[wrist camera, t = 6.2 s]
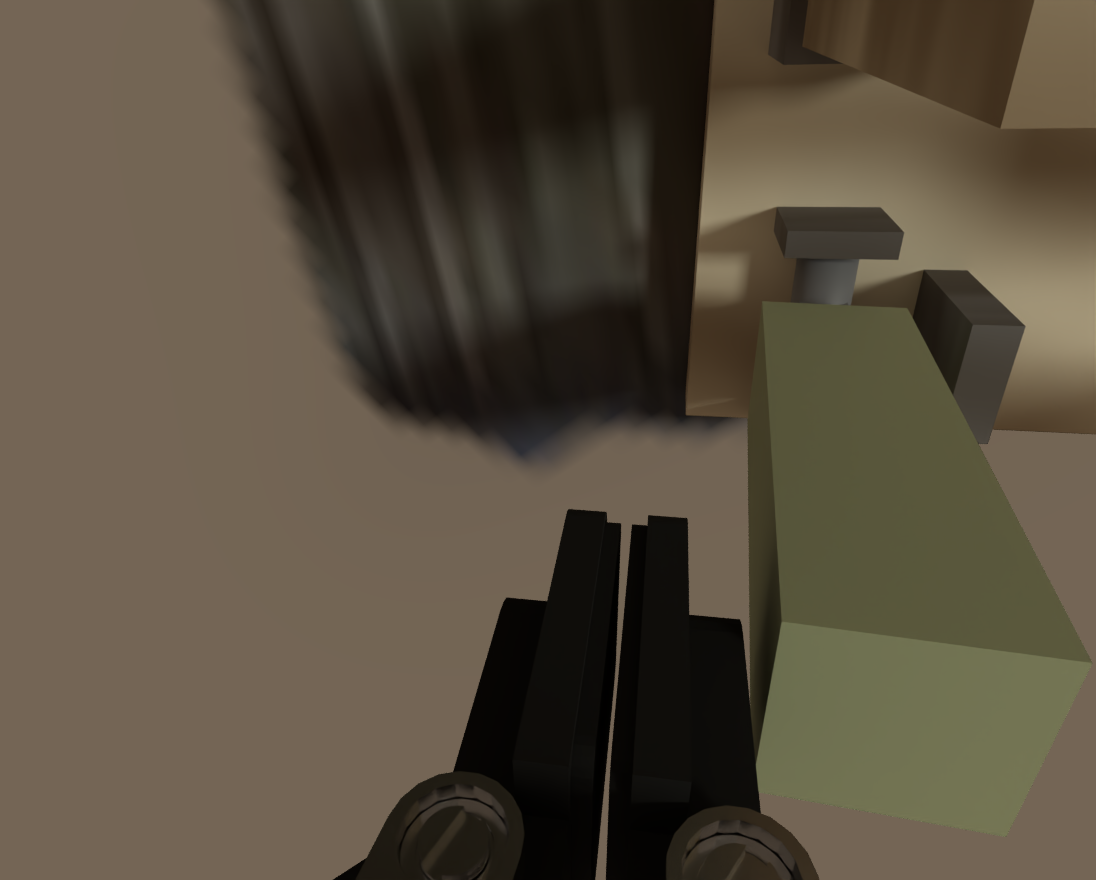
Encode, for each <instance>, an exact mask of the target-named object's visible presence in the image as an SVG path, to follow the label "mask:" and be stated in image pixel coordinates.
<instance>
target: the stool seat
mask: <svg viewBox="0 0 1096 880" xmlns="http://www.w3.org/2000/svg"><path fill="white" fill-rule="evenodd" d="M797 258H810V259H859V265H858V270H857V275H856V281H855V286H854V291H853V296H852V302H851V306H872V307H893V308H908V310H909V312H910V314H911V316H912V318H913V320H914V322H915V324H916V326H917V328H918V329H919V331H920V333H921V335H922V337H923V339H924V341H925V343H926V345H927V347H928V349H929V351H930V352H931V354H932V356H933V358H934V360H935V362H936V364H937V366H938V368H939V370H940V372H941V374H942V375H943V377H944V379H945V381H946V383H947V385H948V387H949V389H950V391H951V393H952V395H953V397H954V398H955V400H956V402H957V404H958V406H959V408H960V410H961V412H962V414H963V416H964V418H965V420H966V421H967V423H968V425H969V427H970V429H971V431H972V433H973V435H974V437H975V439H976V441H977V443H978V444H979V443H980V444H988V441H989V438H990V435H991V432H992V429H994V430H1016V431H1037V432H1059V433H1079V434H1096V0H714V14H713V27H712V41H711V54H710V68H709V82H708V95H707V109H706V122H705V136H704V150H703V163H702V177H701V190H700V204H699V218H698V231H697V245H696V258H695V272H694V286H693V299H692V313H691V326H690V340H689V353H688V367H687V381H686V415H695V416H716V417H737V418H748V412H749V404H750V396H751V387H752V379H753V371H754V363H755V355H756V347H757V339H758V331H759V323H760V315H761V307H762V301H768V302H788V303H790V301H791V295H792V288H793V281H794V274H795V267H796V260H797Z"/></svg>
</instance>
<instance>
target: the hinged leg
mask: <svg viewBox="0 0 1096 880" xmlns="http://www.w3.org/2000/svg"><path fill="white" fill-rule="evenodd" d="M858 265H859V259H810V258H797V260H796V267H795V274H794V281H793V288H792V295H791V301H790V303H788V302H768V301H762V307H761V315H760V323H759V331H758V339H757V347H756V355H755V363H754V371H753V379H752V387H751V396H750V404H749V412H748V509H749V510H748V511H749V512H748V513H749V514H748V515H749V615H750V616H749V617H750V710H751V721H752V731H753V741H754V751H755V761H756V771H757V781H758V791H759V792H761V793H767V794H772V795H778V796H783V797H789V798H794V799H800V800H805V801H811V802H817V803H822V804H827V805H833V806H839V807H844V808H850V809H855V810H861V811H867V812H872V813H878V814H883V815H888V816H894V817H899V818H905V819H911V820H916V821H922V822H927V823H933V824H939V825H944V826H950V827H955V828H961V829H966V830H972V831H977V832H983V833H988V834H994V835H999V836H1005V837H1006V836H1007V834H1008V832H1009V830H1010V828H1011V826H1012V824H1013V822H1014V820H1015V818H1016V816H1017V814H1018V812H1019V809H1020V808H1021V806H1022V804H1023V802H1024V800H1025V798H1026V796H1027V794H1028V792H1029V790H1030V788H1031V786H1032V784H1033V782H1034V780H1035V778H1036V776H1037V774H1038V772H1039V770H1040V768H1041V765H1042V764H1043V762H1044V760H1045V758H1046V756H1047V753H1048V752H1049V750H1050V748H1051V746H1052V743H1053V742H1054V740H1055V738H1056V736H1057V734H1058V732H1059V730H1060V727H1061V725H1062V724H1063V721H1064V719H1065V717H1066V715H1067V713H1068V711H1069V709H1070V707H1071V705H1072V703H1073V701H1074V699H1075V697H1076V695H1077V693H1078V691H1079V689H1080V687H1081V685H1082V683H1083V681H1084V679H1085V677H1086V675H1087V673H1088V671H1089V669H1090V667H1091V665H1092V661H1091V659H1090V658H1089V655H1088V654H1087V652H1086V650H1085V648H1084V646H1083V644H1082V642H1081V640H1080V638H1079V636H1078V635H1077V632H1076V631H1075V629H1074V627H1073V625H1072V623H1071V621H1070V619H1069V617H1068V615H1067V613H1066V611H1065V609H1064V608H1063V606H1062V604H1061V602H1060V600H1059V598H1058V596H1057V594H1056V592H1055V590H1054V588H1053V586H1052V585H1051V583H1050V581H1049V579H1048V577H1047V575H1046V573H1045V571H1044V569H1043V567H1042V566H1041V563H1040V561H1039V560H1038V558H1037V556H1036V554H1035V552H1034V550H1033V548H1032V546H1031V544H1030V542H1029V540H1028V538H1027V537H1026V535H1025V533H1024V531H1023V529H1022V527H1021V525H1020V523H1019V521H1018V519H1017V517H1016V515H1015V514H1014V512H1013V510H1012V508H1011V506H1010V504H1009V502H1008V500H1007V498H1006V496H1005V494H1004V492H1003V491H1002V489H1001V487H1000V485H999V483H998V481H997V479H996V477H995V475H994V473H993V471H992V469H991V468H990V466H989V464H988V462H987V460H986V458H985V456H984V454H983V452H982V450H981V448H980V446H979V444H978V443H977V441H976V439H975V437H974V435H973V433H972V431H971V429H970V427H969V425H968V423H967V421H966V420H965V418H964V416H963V414H962V412H961V410H960V408H959V406H958V404H957V402H956V400H955V398H954V397H953V395H952V393H951V391H950V389H949V387H948V385H947V383H946V381H945V379H944V377H943V375H942V374H941V372H940V370H939V368H938V366H937V364H936V362H935V360H934V358H933V356H932V354H931V352H930V351H929V349H928V347H927V345H926V343H925V341H924V339H923V337H922V335H921V333H920V331H919V329H918V328H917V326H916V324H915V322H914V320H913V318H912V316H911V314H910V312H909V310H908V308H893V307H872V306H851V302H852V296H853V291H854V286H855V281H856V275H857V270H858Z"/></svg>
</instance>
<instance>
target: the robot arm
mask: <svg viewBox="0 0 1096 880" xmlns="http://www.w3.org/2000/svg"><path fill="white" fill-rule="evenodd" d="M620 542H621V524H620V523H608V522H607V513H606V512H599V511H586V510H573V509H569V510H568V511H567V514H566V519H565V523H564V528H563V532H562V537H561V541H560V546H559V550H558V555H557V560H556V564H555V568H554V573H553V578H552V582H551V587H550V591H549V596H548V600H547V601H538V600H527V599H516V598H506V599H505V601H504V602H503V606H502V608H501V610H500V614H499V618H498V621H497V624H496V628H495V631H494V634H493V638H492V641H491V645H490V648H489V652H488V655H487V658H486V662H485V665H484V669H483V672H482V675H481V679H480V682H479V686H478V689H477V693H476V696H475V699H474V703H473V706H472V709H471V713H470V716H469V720H468V723H467V727H466V730H465V733H464V737H463V740H462V744H461V747H460V750H459V754H458V757H457V761H456V764H455V768H454V771H453V772H451V773H445V774H439V775H436V776H434V777H432V778H430V779H428V780H426V781H423V782H421V783H419V784H418V785H416V786H415V787H414V788H413V789H411V790H410V791H409V792H408V793H407V794H405V795H404V796H403V797H402V798H401V799H400V800H399V802H398V804H397V805H396V806H395V808H394V809H393V810H392V812H391V813H390V815H389V816H388V818H387V820H386V822H385V824H384V826H383V827H382V829H381V831H380V833H379V835H378V837H377V839H376V841H375V843H374V845H373V847H372V849H371V850H370V852H369V854H368V857H367V858H366V859H364V860H363V861H361V862H360V863H358V864H357V865H355V866H353V867H352V868H350V869H349V870H347V871H346V872H344V873H343V874H341V875H340V876H338V877H336V878H335V879H333V880H595V877H596V867H597V855H598V846H599V835H600V825H601V814H602V805H603V794H604V784H605V783H604V782H605V774H606V763H607V752H608V743H609V732H610V731H609V730H610V721H611V712H612V701H613V690H614V680H615V667H616V666H615V665H616V645H617V642H616V641H617V619H618V594H619V568H620ZM607 837H608V838H607V863H606V880H819V877H818V874H817V872H816V870H815V868H814V866H813V863H812V861H811V859H810V857H809V855H808V853H807V852H806V850H805V849H804V848H803V847H802V845H801V844H800V843H799V842H798V840H797V839H796V838H795V837H794V836H793V834H792V833H791V832H789V831H788V830H787V829H785V828H784V827H783V826H781V825H780V824H779V823H777V822H776V821H775V820H773V819H772V818H771V817H768V816H766V815H763V814H761V811H760V801H759V791H758V781H757V771H756V761H755V751H754V741H753V731H752V721H751V710H750V700H749V690H748V680H747V670H746V660H745V650H744V640H743V631H742V624H741V621H740V619H729V618H718V617H707V616H696V615H689V578H688V520H687V518H677V517H664V516H651V515H649V516H648V526H646V525H632V531H631V542H630V554H629V564H628V576H627V586H626V597H625V608H624V620H623V630H622V641H621V653H620V664H619V675H618V686H617V698H616V709H615V719H614V731H613V741H612V753H611V768H610V784H609V811H608V836H607Z"/></svg>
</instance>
